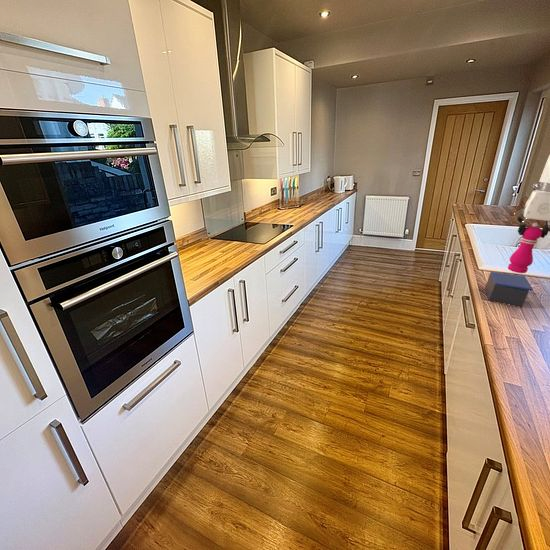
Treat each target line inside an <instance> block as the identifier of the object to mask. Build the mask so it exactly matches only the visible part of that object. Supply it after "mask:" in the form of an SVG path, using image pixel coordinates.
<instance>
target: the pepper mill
mask: <svg viewBox="0 0 550 550" xmlns="http://www.w3.org/2000/svg"><path fill="white" fill-rule="evenodd" d="M531 224H532V225H530V226H529V225H528V226H526V228H525V230H524V233H523V235H521V236H522V237H521V239H520V244H519V247H518V248H517V249H516V250H515V251H514V252H513V253H512V254H511V255H510V257H509V262H510V263H509V264H508V265H507V266H508V267H507V270H509V271H511V272H512V273H516V274H517V273H518V274H526V273H527V272H528V270H529V267H530V266H531V265H532V264H533V262H534V256H533V249H534V246H535V245H536V244H537V243H538V241H539V240H538V239H540V238H542V237H541V236H542V229H541V227H538V226H539V223H538V222H532V223H531Z"/></svg>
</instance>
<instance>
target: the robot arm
mask: <svg viewBox="0 0 550 550" xmlns="http://www.w3.org/2000/svg"><path fill="white" fill-rule="evenodd" d="M531 187H532V188H533V189H535V190H532V192H531V193H530V195H529V197H528V198H527V200H526V202H525V204H524V206H523V207H522V208H520V209H518V210H516V211H515V212H514V213H513V216H514V217H515V219H516V220H517V221H518V222H519V226H518V229H517V233H518V235H519V236H522V235H523V233H524V230H525V228H526V227H527V223H528V222H529V221H530V220H534V221H535V220H537V221H544V222H545V224H544V225H543V226H542V229H541V230H542V236H541V237H540V238H541V239H545V237H546V236H548V234H549V231H550V154H548V156H547V160H546V162H545V164H544V167H543V170H542V172H541V175H540V178H539V181H537V183H533V184H532V186H531ZM521 215H522V216H523V218H522V216H521Z"/></svg>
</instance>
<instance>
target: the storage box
mask: <svg viewBox="0 0 550 550" xmlns="http://www.w3.org/2000/svg"><path fill="white" fill-rule="evenodd" d="M484 290H485V293H486V296H487V300H488V302H492V301H493V302H492V303H497V302H499V303H498V304H502V303H505V304H504V305H507V304H510V305H509V306H512V305H515V306H514V307H517V306H520V307H519V308H523V306H524V304H525V302H526V300H527V298H528V295H529V293H530V290H524V289H518V288H512V287H505V286H499V285H495V284H494V281H493V278H492V276H491V272H490V273H489V275H488V278H487V281H486V284H485V286H484Z"/></svg>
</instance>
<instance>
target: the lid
mask: <svg viewBox="0 0 550 550" xmlns="http://www.w3.org/2000/svg"><path fill="white" fill-rule="evenodd" d="M490 273H491V276H492V278H493V281H494V284H495V285H499V286H505V287H512V288H518V289H524V290H529V292H530V291H531V292H532V291H533V290H534V289H533V287H532V285H531V284H530V282H529V281H528V279H527V277H526V276H525V275H520V274H519V275H518V274H513V273H512V274H511V273H504V272H497V271H490Z"/></svg>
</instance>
